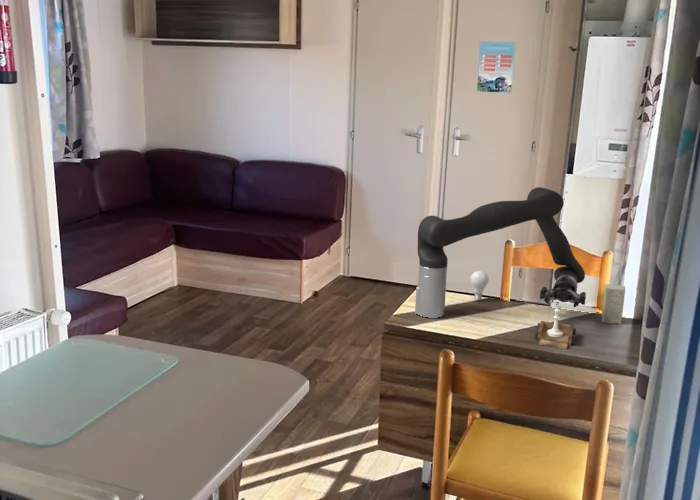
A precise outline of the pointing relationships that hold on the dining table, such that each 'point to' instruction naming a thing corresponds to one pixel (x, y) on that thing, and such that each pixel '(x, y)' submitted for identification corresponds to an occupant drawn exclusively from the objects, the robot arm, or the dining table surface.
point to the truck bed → (558, 342)
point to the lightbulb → (479, 283)
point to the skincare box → (613, 303)
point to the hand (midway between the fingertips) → (561, 302)
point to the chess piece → (555, 324)
